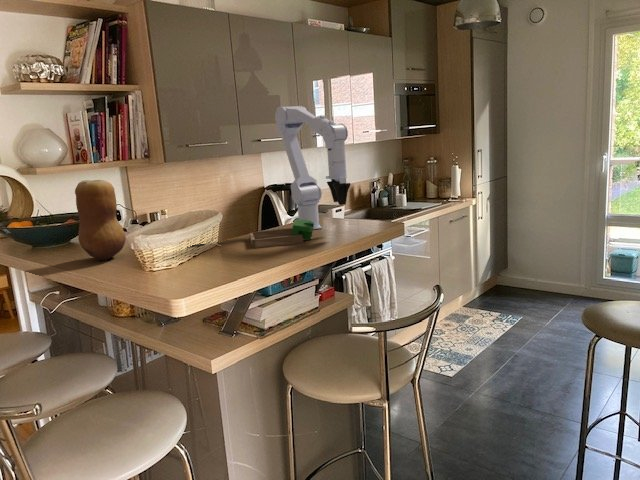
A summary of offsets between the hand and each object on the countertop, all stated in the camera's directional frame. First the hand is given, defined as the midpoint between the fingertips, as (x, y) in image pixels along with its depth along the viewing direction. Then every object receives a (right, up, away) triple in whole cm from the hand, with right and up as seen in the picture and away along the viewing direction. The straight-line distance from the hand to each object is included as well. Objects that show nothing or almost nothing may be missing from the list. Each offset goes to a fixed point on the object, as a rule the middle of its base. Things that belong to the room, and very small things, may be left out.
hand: (339, 203), depth 172 cm
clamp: (-12, -12, -1) cm, 17 cm away
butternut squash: (-74, -18, -8) cm, 77 cm away
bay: (-21, -13, -1) cm, 25 cm away
